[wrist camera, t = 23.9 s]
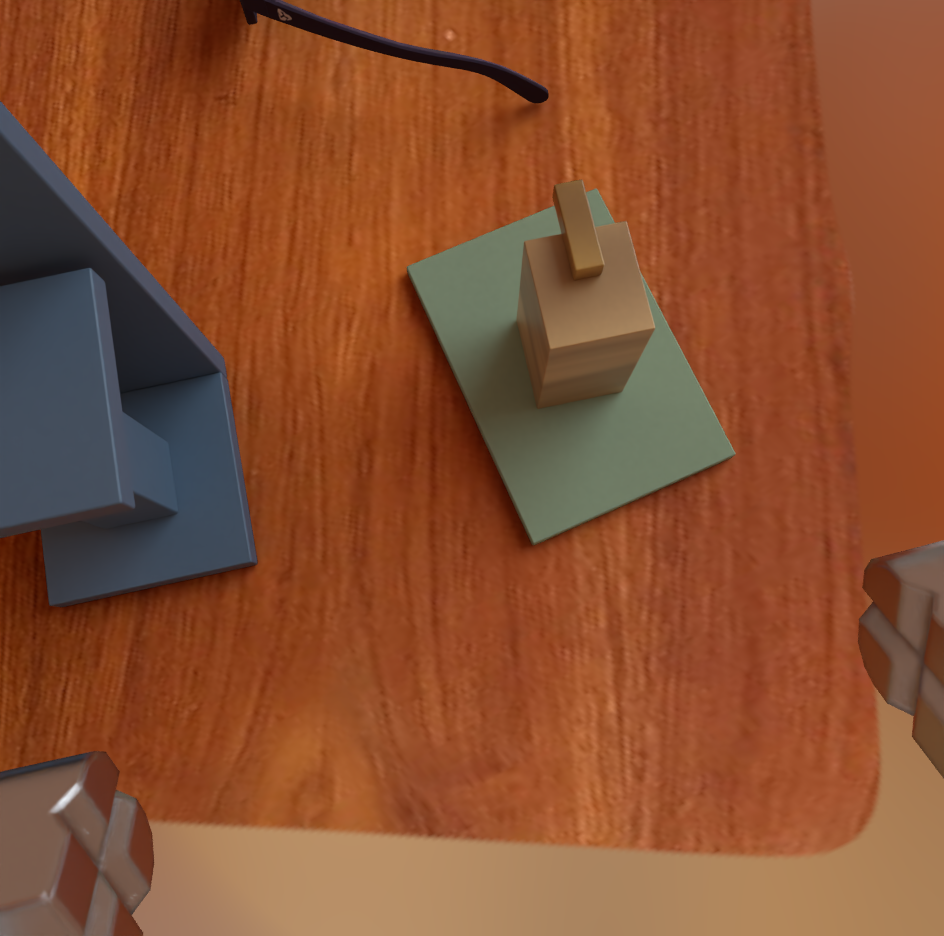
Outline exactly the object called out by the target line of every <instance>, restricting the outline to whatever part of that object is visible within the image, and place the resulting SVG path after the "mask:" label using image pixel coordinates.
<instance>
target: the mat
mask: <svg viewBox="0 0 944 936" xmlns="http://www.w3.org/2000/svg"><path fill="white" fill-rule="evenodd" d="M586 194H587V198H588V202H589V206H590V210H591V214H592V217H593V221H594V225H595V227H598V226H603V225H608V224H613V223H615V222H614V220H613V218H612V217H611V215H610V213H609V211H608V209H607V207H606V205H605V203H604V201H603V199H602V197H601V196H600V194H599V192H598V190H597V189H594V190H591V191H589V192H586ZM558 234H561V230H560V226H559V222H558V218H557V214H556V210H555V206H553V207H550V208H548V209H545V210H543V211H540V212H538V213H536V214H533V215H531V216H528V217H526V218H523V219H521V220H519V221H516V222H514V223H511V224H509V225H506V226H504V227H502V228H499V229H497V230H494V231H492V232H489V233H487V234H485V235H482V236H480V237H477V238H475V239H472V240H470V241H468V242H465V243H463V244H460V245H458V246H455V247H453V248H451V249H448V250H446V251H443V252H441V253H438V254H436V255H434V256H431V257H429V258H426V259H424V260H422V261H419V262H417V263H414V264H412V265H409V266H407V273H408V275H409V277H410V280H411V282H412V284H413V286H414V288H415V291H416V293H417V295H418V297H419V299H420V301H421V304H422V306H423V308H424V310H425V312H426V315H427V317H428V319H429V321H430V323H431V325H432V328H433V330H434V332H435V334H436V336H437V339H438V341H439V343H440V345H441V347H442V349H443V352H444V354H445V356H446V358H447V360H448V362H449V365H450V367H451V369H452V371H453V373H454V376H455V378H456V380H457V382H458V384H459V386H460V389H461V391H462V393H463V395H464V397H465V400H466V402H467V404H468V406H469V408H470V410H471V413H472V415H473V417H474V419H475V421H476V424H477V426H478V428H479V430H480V432H481V434H482V437H483V439H484V441H485V443H486V445H487V448H488V450H489V452H490V454H491V456H492V458H493V461H494V463H495V465H496V467H497V469H498V472H499V474H500V476H501V478H502V480H503V482H504V485H505V487H506V489H507V491H508V493H509V496H510V498H511V500H512V502H513V504H514V506H515V509H516V511H517V513H518V515H519V517H520V520H521V522H522V524H523V526H524V528H525V530H526V533H527V535H528V537H529V539H530V541H531V544H532V545H536V544H538V543H541V542H543V541H545V540H547V539H550V538H552V537H554V536H556V535H559V534H561V533H563V532H565V531H568V530H570V529H572V528H574V527H577V526H579V525H581V524H583V523H586V522H588V521H590V520H592V519H595V518H597V517H599V516H601V515H604V514H606V513H608V512H610V511H613V510H615V509H617V508H619V507H622V506H624V505H626V504H628V503H631V502H633V501H635V500H637V499H640V498H642V497H644V496H646V495H649V494H651V493H653V492H656V491H658V490H660V489H662V488H665V487H667V486H669V485H671V484H674V483H676V482H678V481H680V480H683V479H685V478H687V477H689V476H692V475H694V474H696V473H698V472H701V471H703V470H705V469H707V468H710V467H712V466H714V465H716V464H719V463H721V462H723V461H725V460H728V459H730V458H732V457H733V456H734V455H735V452H734V450H733V448H732V446H731V444H730V442H729V440H728V438H727V436H726V435H725V433H724V431H723V429H722V427H721V425H720V423H719V421H718V419H717V417H716V415H715V413H714V412H713V410H712V408H711V406H710V404H709V402H708V400H707V398H706V396H705V394H704V392H703V391H702V389H701V387H700V385H699V383H698V381H697V379H696V377H695V375H694V373H693V371H692V369H691V368H690V366H689V364H688V362H687V360H686V358H685V356H684V354H683V352H682V350H681V348H680V347H679V345H678V343H677V341H676V339H675V337H674V335H673V333H672V331H671V329H670V327H669V326H668V324H667V322H666V320H665V318H664V316H663V314H662V312H661V310H660V308H659V306H658V304H657V303H656V301H655V299H654V297H653V295H652V293H651V291H650V289H649V287H648V285H647V283H646V282H645V280H644V278H643V276H642V274H641V276H642V280H643V284H644V287H645V291H646V295H647V298H648V302H649V306H650V310H651V313H652V317H653V321H654V324H655V330H654V332H653V334H652V336H651V337H650V339H649V341H648V343H647V345H646V347H645V349H644V351H643V353H642V355H641V357H640V359H639V361H638V363H637V364H636V366H635V368H634V370H633V372H632V374H631V376H630V378H629V380H628V382H627V384H626V386H625V388H624V389H623V391H622V392H618V393H613V394H609V395H604V396H599V397H594V398H589V399H584V400H579V401H574V402H569V403H564V404H559V405H554V406H550V407H545V408H540V409H537V406H536V402H535V398H534V393H533V389H532V385H531V380H530V376H529V372H528V367H527V363H526V359H525V355H524V350H523V346H522V342H521V337H520V333H519V329H518V324H517V310H518V299H519V289H520V278H521V268H522V257H523V247H524V241H527V240H532V239H537V238H542V237H548V236H553V235H558Z"/></svg>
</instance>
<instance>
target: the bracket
mask: <svg viewBox="0 0 944 936" xmlns="http://www.w3.org/2000/svg"><path fill="white" fill-rule="evenodd" d="M226 378H227V374H226V368H225V362H224V358H223V357H222V355H221V354H220V353H219V352H218V351H217V350H216V349H215V347H214V346H213V345H212V344H211V343H210V342H209V340H208V339H207V338H206V337H205V336H204V335H203V334H202V332H201V331H200V330H199V329H198V328H197V327H196V326H195V324H194V323H193V322H192V321H191V320H190V319H189V317H188V316H187V315H186V314H185V313H184V312H183V311H182V309H181V308H180V307H179V306H178V305H177V304H176V303H175V301H174V300H173V299H172V298H171V297H170V296H169V294H168V293H167V292H166V291H165V290H164V289H163V288H162V286H161V285H160V284H159V283H158V282H157V281H156V280H155V278H154V277H153V276H152V275H151V274H150V273H149V271H148V270H147V269H146V268H145V267H144V266H143V265H142V263H141V262H140V261H139V260H138V259H137V258H136V257H135V255H134V254H133V253H132V252H131V251H130V250H129V248H128V247H127V246H126V245H125V244H124V243H123V242H122V240H121V239H120V238H119V237H118V236H117V235H116V234H115V232H114V231H113V230H112V229H111V228H110V227H109V225H108V224H107V223H106V222H105V221H104V220H103V219H102V217H101V216H100V215H99V214H98V213H97V212H96V211H95V209H94V208H93V207H92V206H91V205H90V204H89V202H88V201H87V200H86V199H85V198H84V197H83V196H82V194H81V193H80V192H79V191H78V190H77V189H76V188H75V186H74V185H73V184H72V183H71V182H70V181H69V179H68V178H67V177H66V176H65V175H64V174H63V173H62V171H61V170H60V169H59V168H58V167H57V166H56V165H55V163H54V162H53V161H52V160H51V159H50V158H49V156H48V155H47V154H46V153H45V152H44V151H43V150H42V148H41V147H40V146H39V145H38V144H37V143H36V142H35V140H34V139H33V138H32V137H31V136H30V135H29V133H28V132H27V131H26V130H25V129H24V128H23V127H22V125H21V124H20V123H19V122H18V121H17V120H16V119H15V117H14V116H13V115H12V114H11V113H10V112H9V110H8V109H7V108H6V107H5V106H4V105H3V104H2V102H1V101H0V538H2V537H7V536H12V535H16V534H21V533H26V532H30V531H35V530H40V529H41V536H42V545H43V554H44V563H45V572H46V582H47V591H48V600H49V605H50V606H56V607H65V606H70V605H74V604H79V603H83V602H88V601H93V600H97V599H102V598H106V597H111V596H115V595H120V594H125V593H129V592H134V591H138V590H143V589H148V588H152V587H157V586H161V585H166V584H171V583H175V582H180V581H184V580H189V579H194V578H198V577H203V576H207V575H212V574H217V573H221V572H226V571H230V570H235V569H239V568H244V567H249V566H253V565H257V563H258V562H257V556H256V550H255V544H254V538H253V532H252V526H251V520H250V514H249V508H248V501H247V495H246V489H245V483H244V477H243V471H242V465H241V459H240V453H239V447H238V440H237V434H236V428H235V422H234V416H233V410H232V404H231V398H230V392H229V385H228V380H227V379H226Z"/></svg>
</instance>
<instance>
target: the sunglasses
mask: <svg viewBox="0 0 944 936" xmlns="http://www.w3.org/2000/svg"><path fill="white" fill-rule="evenodd" d="M240 2H241V5H242V8H243V11H244V14H245V17H246V20H247V23H248V24H249V25H251V24H256V23H257V13H258V14H261V15H263V16H266V17H269V18H271V19H274V20H277V21H280V22H283V23H286V24H289V25H291V26H294V27H297V28H300V29H303V30H306V31H309V32H311V33H315V34H318V35H321V36H324V37H327V38H330V39H333V40H336V41H340V42H343V43H346V44H350V45H353V46H356V47H360V48H364V49H367V50H371V51H374V52H378V53H382V54H386V55H390V56H394V57H398V58H402V59H407V60H412V61H416V62H422V63H427V64H432V65H438V66H444V67H450V68H456V69H462V70H468V71H472V72H475V73H479V74H482V75H485V76H487V77H490V78H492V79H494V80H496V81H498V82H499V83H501V84H503V85H504V86H506V87H508V88H509V89H511V90H512V91H514V92H515V93H517V94H519V95H520V96H522V97H523V98H525V99H526V100H528V101H530V102H532V103H542V102H544V101H546V100H547V99H548V90H547V89H546V88H545V87H543V86H542V85H540V84H538V83H537V82H535V81H533V80H531V79H529V78H527V77H525V76H523V75H521V74H519V73H517V72H515V71H513V70H511V69H508V68H506V67H503V66H501V65H498V64H495V63H492V62H488V61H485V60H482V59H478V58H474V57H469V56H465V55H460V54H455V53H450V52H444V51H438V50H433V49H427V48H422V47H417V46H412V45H408V44H403V43H399V42H396V41H393V40H389V39H386V38H383V37H380V36H377V35H373V34H370V33H367V32H364V31H361V30H358V29H355V28H352V27H349V26H346V25H343V24H340V23H337V22H334V21H331V20H329V19H326V18H323V17H320V16H318V15H315V14H313V13H310V12H308V11H305V10H303V9H301V8H298V7H296V6H293V5H291V4H288V3H286V2H284V1H281V0H240Z"/></svg>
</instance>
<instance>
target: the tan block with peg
mask: <svg viewBox="0 0 944 936" xmlns="http://www.w3.org/2000/svg"><path fill="white" fill-rule="evenodd" d="M552 198H553V202H554V206H555V210H556V214H557V218H558V222H559V226H560V230H561V234H558V235H553V236H548V237H542V238H537V239H532V240H527V241H524V247H523V257H522V268H521V278H520V289H519V299H518V310H517V324H518V329H519V333H520V337H521V342H522V346H523V350H524V355H525V359H526V363H527V367H528V372H529V376H530V380H531V385H532V389H533V393H534V398H535V402H536V406H537V409H540V408H545V407H550V406H554V405H559V404H564V403H569V402H574V401H579V400H584V399H589V398H594V397H599V396H604V395H609V394H613V393H618V392H622V391H623V389H624V388H625V386H626V384H627V382H628V380H629V378H630V376H631V374H632V372H633V370H634V368H635V366H636V364H637V363H638V361H639V359H640V357H641V355H642V353H643V351H644V349H645V347H646V345H647V343H648V341H649V339H650V337H651V336H652V334H653V332H654V330H655V324H654V321H653V317H652V313H651V310H650V306H649V302H648V298H647V295H646V291H645V287H644V284H643V280H642V276H641V272H640V269H639V265H638V261H637V258H636V254H635V250H634V246H633V243H632V239H631V235H630V232H629V228H628V224H627V222H626V221H623V222H618V223H613V224H608V225H603V226H598V227H595V225H594V221H593V217H592V214H591V210H590V206H589V202H588V198H587V194H586V191H585V187H584V183H583V180H576V181H571V182H566V183H561V184H556V185H554V190H553V197H552Z"/></svg>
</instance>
